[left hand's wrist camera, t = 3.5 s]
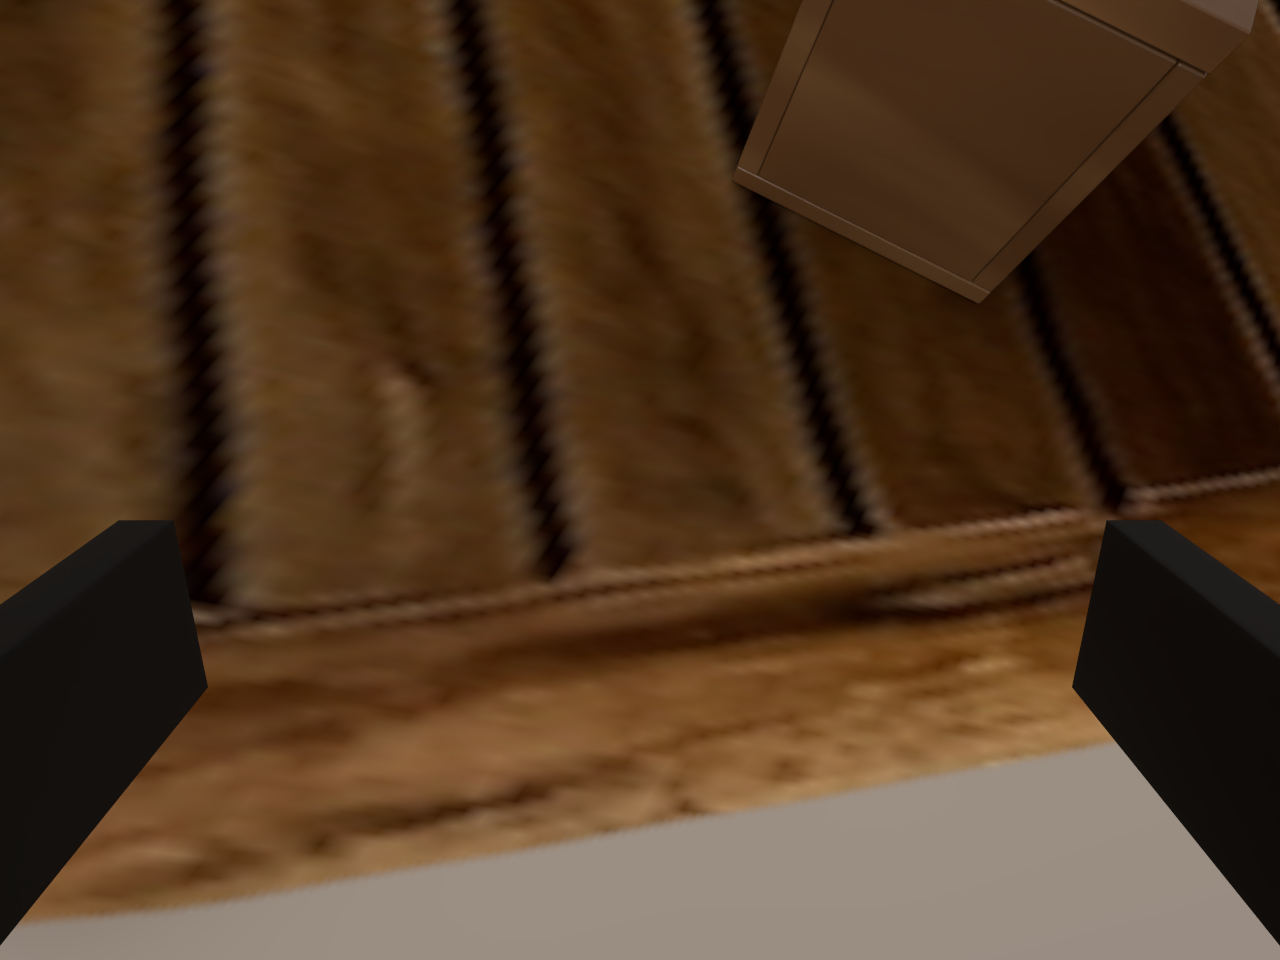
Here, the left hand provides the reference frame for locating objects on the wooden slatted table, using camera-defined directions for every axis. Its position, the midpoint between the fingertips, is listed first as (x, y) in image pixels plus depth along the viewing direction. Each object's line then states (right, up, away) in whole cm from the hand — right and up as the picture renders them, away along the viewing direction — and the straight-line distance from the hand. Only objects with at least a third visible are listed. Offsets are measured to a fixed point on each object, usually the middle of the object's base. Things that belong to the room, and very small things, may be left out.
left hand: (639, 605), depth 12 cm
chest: (+10, +16, +19) cm, 27 cm away
